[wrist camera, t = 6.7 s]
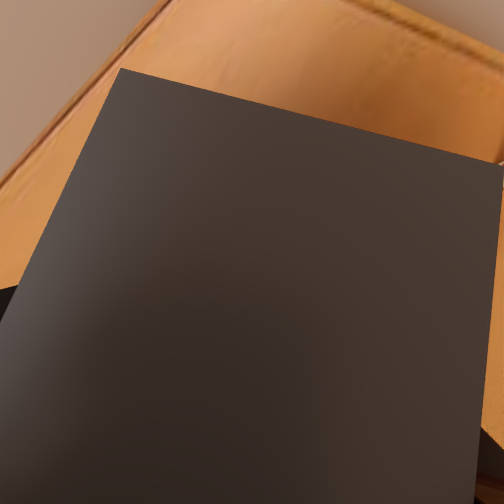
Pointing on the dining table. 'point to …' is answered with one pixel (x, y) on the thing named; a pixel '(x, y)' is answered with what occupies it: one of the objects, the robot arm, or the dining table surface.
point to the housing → (250, 313)
